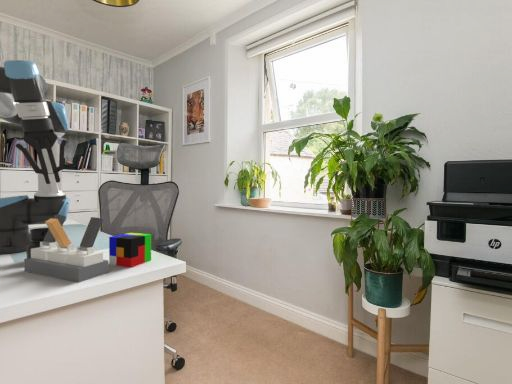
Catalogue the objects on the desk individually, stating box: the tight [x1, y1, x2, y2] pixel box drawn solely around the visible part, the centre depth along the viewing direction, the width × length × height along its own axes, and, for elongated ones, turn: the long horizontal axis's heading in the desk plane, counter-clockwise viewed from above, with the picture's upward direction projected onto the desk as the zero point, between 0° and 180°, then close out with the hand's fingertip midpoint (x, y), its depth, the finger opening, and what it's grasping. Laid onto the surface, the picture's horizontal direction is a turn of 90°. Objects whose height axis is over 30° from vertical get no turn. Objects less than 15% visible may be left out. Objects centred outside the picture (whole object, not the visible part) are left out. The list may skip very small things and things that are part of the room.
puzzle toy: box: [108, 232, 152, 268], centre depth 104 cm, size 10×10×10 cm
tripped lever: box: [45, 218, 72, 249], centre depth 90 cm, size 2×3×11 cm, turn 68°
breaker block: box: [23, 215, 109, 283], centre depth 92 cm, size 10×26×18 cm, turn 68°
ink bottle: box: [25, 227, 58, 259], centre depth 104 cm, size 10×9×12 cm
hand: (56, 192), depth 92 cm, fingers closed
